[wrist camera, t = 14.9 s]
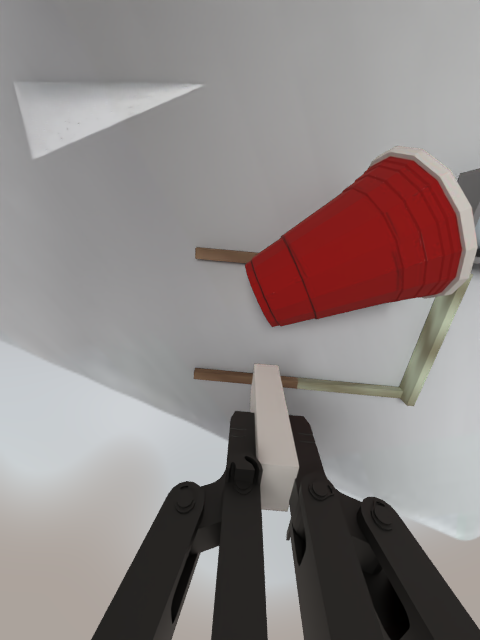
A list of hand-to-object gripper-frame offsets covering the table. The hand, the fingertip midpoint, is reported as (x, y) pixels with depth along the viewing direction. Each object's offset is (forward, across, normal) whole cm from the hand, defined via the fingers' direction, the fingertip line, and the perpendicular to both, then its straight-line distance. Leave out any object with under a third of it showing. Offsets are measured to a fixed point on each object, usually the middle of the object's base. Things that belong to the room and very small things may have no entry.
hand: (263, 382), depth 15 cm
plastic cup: (+7, -1, +4) cm, 8 cm away
